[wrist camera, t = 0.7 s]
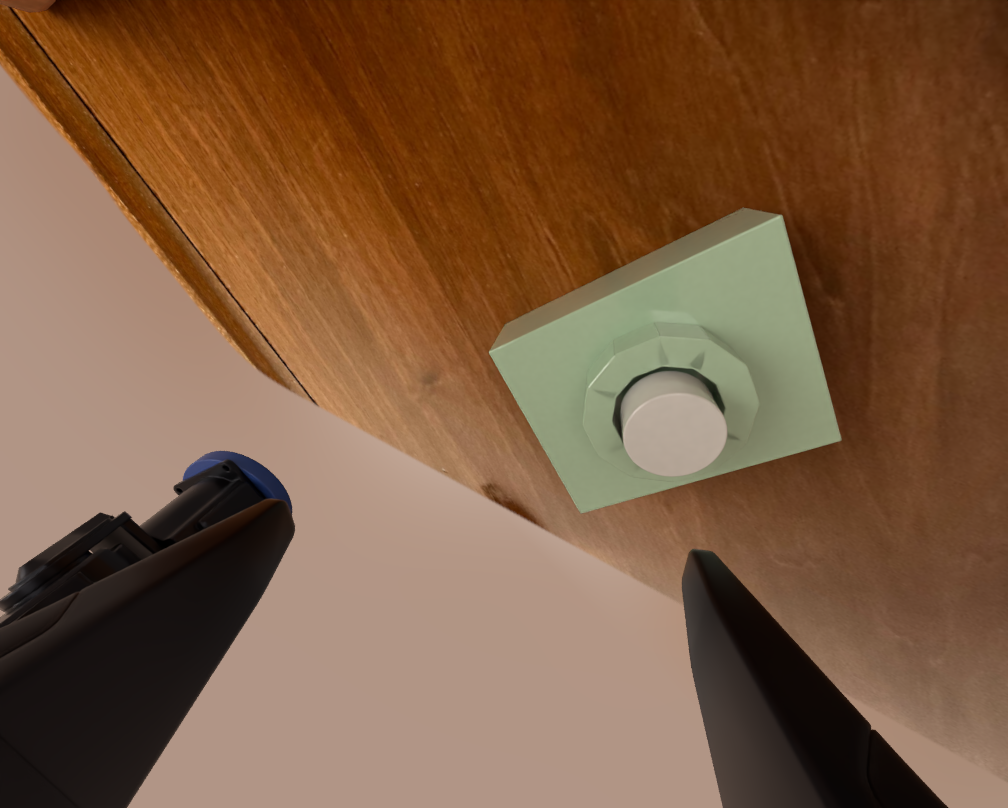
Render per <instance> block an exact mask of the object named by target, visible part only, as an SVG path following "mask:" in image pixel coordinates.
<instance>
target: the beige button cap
mask: <svg viewBox="0 0 1008 808" xmlns="http://www.w3.org/2000/svg"><path fill="white" fill-rule="evenodd" d="M620 420H621V428H622V436H623V443H624V447H625V450H626V452H627V454H628V455H629V457H630V458H631V459H632V461H633V462H634V463H635V464H636V465H638V466H639V467H641V468H642V469H644V470H646V471H648V472H650V473H653V474H656V475H660V476H669V477H676V476H684V475H688V474H692V473H695V472H697V471H699V470H702V469H703V468H705V467H707V466H708V465H709V464H711V463H712V462H713V461H714V460H715V459H716V458H717V457H718V456H719V455H720V453H721V452H722V450H723V448H724V446H725V443H726V440H727V432H728V430H727V423H726V420H725V418H724V416H723V414H722V412H721V410H720V408H719V407H718V405H717V403H716V401H715V399H714V398H713V396H712V394H711V392H710V391H709V389H708V388H707V386H706V385H705V384H704V383H703V382H702V381H700V380H699V379H698V378H696V377H694V376H692V375H690V374H687V373H683V372H678V371H662V372H657V373H653V374H650V375H648V376H646V377H644V378H642V379H640V380H639V381H637V382H636V383H635V384H634V385H633V386H632V387H631V388H630V389H629V390H628V391H627V393H626V394H625V396H624V398H623V400H622V403H621V407H620Z"/></svg>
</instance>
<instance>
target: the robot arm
mask: <svg viewBox="0 0 1008 808" xmlns="http://www.w3.org/2000/svg"><path fill="white" fill-rule="evenodd" d="M174 491H175V492H176V493H177V494H178V495H179V496H178V497H177V498H176V499H174V500H173V501H171V502H170V503H169V504H168V505H166V506H165V507H164V508H162V509H161V510H160V511H159V512H157V513H156V514H155V515H153V516H152V517H151V518H150V519H148V520H147V521H146V522H144V523H143V524H142V525H140V526H138V525H137V524H136V523H135V522H134V521H133V520H132V519H131V518H132V517H131V516H130V515H129V514H128V513H126V512H123V513H121V514H120V515H118V516H117V517H113V516H110V515H106V514H103V513H99V514H97V515H96V516H94V517H93V518H92V519H90V520H89V521H87V522H86V523H84V524H83V525H81V526H80V527H78V528H77V529H75V530H74V531H72V532H71V533H70V534H68V535H67V536H65V537H64V538H62V539H61V540H60V541H58V542H56V543H55V544H53V545H52V546H50V547H49V548H48V549H46V550H45V551H43V552H42V553H40V554H39V555H37V556H36V557H34V558H33V559H31V560H30V561H28V562H27V563H26V564H24V565H23V566H22V567H20V568H19V570H18V575H17V579H16V583H15V584H14V585H13V586H11V587H10V588H9V589H8V590H10V591H11V592H10V593H8V594H7V595H6V596H4V597H3V598H2V599H0V610H2V611H4V612H5V614H4V615H3V616H1V617H0V808H127V807H128V805H129V804H130V802H131V800H132V799H133V797H134V796H135V794H136V793H137V791H138V790H139V788H140V786H141V785H142V783H143V782H144V780H145V779H146V777H147V776H148V774H149V772H150V771H151V769H152V768H153V766H154V765H155V763H156V762H157V760H158V758H159V757H160V755H161V754H162V752H163V751H164V749H165V747H166V746H167V744H168V743H169V741H170V739H171V738H172V737H173V735H174V733H175V732H176V730H177V729H178V727H179V726H180V724H181V722H182V721H183V719H184V718H185V716H186V715H187V713H188V711H189V710H190V708H191V707H192V705H193V704H194V702H195V701H196V699H197V697H198V696H199V694H200V693H201V691H202V690H203V688H204V687H205V685H206V683H207V682H208V680H209V679H210V677H211V675H212V674H213V673H214V671H215V669H216V668H217V666H218V665H219V663H220V661H221V660H222V658H223V657H224V655H225V654H226V652H227V651H228V649H229V648H230V646H231V644H232V643H233V641H234V640H235V638H236V636H237V635H238V633H239V632H240V630H241V629H242V627H243V626H244V624H245V622H246V621H247V619H248V618H249V616H250V615H251V613H252V612H253V610H254V608H255V607H256V605H257V604H258V602H259V600H260V598H261V597H262V595H263V593H264V592H265V590H266V588H267V586H268V584H269V582H270V580H271V578H272V577H273V575H274V573H275V571H276V569H277V567H278V565H279V563H280V561H281V559H282V557H283V555H284V553H285V551H286V550H287V548H288V546H289V544H290V542H291V540H292V538H293V536H294V532H295V525H294V522H293V518H292V515H291V512H290V509H289V506H288V504H287V502H286V501H284V500H279V499H267V498H266V497H265V496H264V495H263V494H262V493H261V492H260V490H259V489H258V488H257V487H256V486H255V485H254V484H253V483H252V482H251V480H250V479H249V478H248V477H247V476H246V475H245V474H244V473H243V472H242V470H241V469H240V468H239V467H238V466H237V465H236V464H235V463H234V462H233V461H231V460H228V459H227V460H224V461H222V462H220V463H218V464H216V465H214V466H212V467H210V468H208V469H205V470H203V471H201V472H199V473H197V474H195V475H193V476H191V477H189V478H187V479H185V480H183V481H181V482H179V483H178V484H176V485H175V486H174ZM89 550H91V551H92V552H93V553H90V552H89ZM682 592H683V601H684V610H685V618H686V627H687V636H688V645H689V653H690V660H691V668H692V673H693V678H694V682H695V687H696V691H697V695H698V700H699V704H700V709H701V713H702V717H703V722H704V726H705V731H706V735H707V739H708V744H709V748H710V753H711V757H712V761H713V766H714V770H715V775H716V778H717V783H718V788H719V792H720V797H721V801H722V805H723V808H948V807H947V806H946V805H945V804H944V803H943V802H942V801H941V800H940V799H939V798H938V797H937V796H936V794H935V793H934V792H932V790H931V789H930V788H929V787H928V786H927V785H926V784H925V783H924V782H923V781H922V780H921V779H920V778H919V776H918V775H917V774H916V773H915V772H914V771H913V770H912V769H911V768H910V767H909V766H908V765H907V764H906V763H905V762H904V761H903V759H902V758H901V757H900V756H899V755H898V754H897V753H896V752H895V751H894V750H893V749H892V747H890V745H889V744H888V743H887V742H886V741H885V740H884V739H883V738H882V736H881V735H880V734H879V733H878V732H877V731H876V730H871V725H870V724H869V722H868V721H867V720H866V719H865V718H864V717H863V716H862V715H861V714H860V713H859V711H858V710H857V709H856V708H855V707H854V706H853V705H852V704H851V703H850V702H849V700H847V698H846V697H845V696H844V695H843V694H842V693H841V692H840V691H839V689H838V688H837V687H836V686H835V685H834V684H833V683H832V682H831V681H830V680H829V678H828V677H827V676H826V675H825V674H824V673H823V672H822V671H821V670H820V669H819V667H818V666H817V665H816V664H815V663H814V662H813V661H812V660H811V659H810V658H809V656H808V655H807V654H806V653H805V652H804V651H803V650H802V649H801V648H800V647H799V645H798V644H797V643H796V642H795V641H794V640H793V639H792V638H791V637H790V636H789V634H788V633H787V632H786V631H785V630H784V629H783V628H782V627H781V626H780V625H779V623H778V622H777V621H776V620H775V619H774V618H773V617H772V616H771V615H770V614H769V612H768V611H767V610H766V609H765V608H764V607H763V606H762V605H761V604H760V603H759V601H758V600H757V599H756V598H755V597H754V596H753V595H752V594H751V593H750V592H749V591H748V589H747V588H746V587H745V586H744V585H743V584H742V583H741V582H740V581H739V580H738V578H737V577H736V576H735V575H734V574H733V573H732V572H731V571H730V570H729V569H728V567H727V566H726V565H725V564H724V563H723V562H722V561H721V560H720V559H719V558H718V556H717V555H716V554H715V553H713V552H711V551H706V550H698V549H692V550H691V551H690V552H689V554H688V558H687V562H686V565H685V569H684V573H683V577H682Z"/></svg>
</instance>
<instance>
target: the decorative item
mask: <svg viewBox="0 0 1008 808" xmlns="http://www.w3.org/2000/svg"><path fill="white" fill-rule="evenodd" d="M55 1H56V0H0V4H3V5H6V6H9V7H13V8H16V9H20V10H23V11H26V12H40V11H45V10H47V9H48V8H49V7H50V6H51V5H52V4H53V3H54V2H55Z"/></svg>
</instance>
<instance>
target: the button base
mask: <svg viewBox="0 0 1008 808" xmlns="http://www.w3.org/2000/svg"><path fill="white" fill-rule="evenodd" d="M489 354H490V356H491V357H492V359H493V361H494V363H495V364H496V366H497V368H498V370H499V371H500V373H501V375H502V377H503V379H504V380H505V382H506V384H507V386H508V387H509V389H510V391H511V393H512V394H513V396H514V398H515V400H516V401H517V403H518V405H519V407H520V408H521V410H522V412H523V414H524V415H525V417H526V419H527V421H528V422H529V424H530V426H531V428H532V429H533V431H534V433H535V435H536V436H537V438H538V440H539V442H540V443H541V445H542V447H543V449H544V450H545V452H546V454H547V456H548V457H549V459H550V461H551V463H552V464H553V466H554V468H555V470H556V472H557V473H558V475H559V477H560V479H561V480H562V482H563V484H564V486H565V487H566V489H567V491H568V493H569V494H570V496H571V498H572V500H573V501H574V503H575V505H576V507H577V508H578V510H579V512H580V513H585V512H589V511H592V510H596V509H599V508H603V507H606V506H610V505H614V504H617V503H621V502H624V501H628V500H631V499H635V498H639V497H642V496H646V495H649V494H653V493H656V492H660V491H664V490H667V489H671V488H674V487H678V486H681V485H685V484H689V483H692V482H696V481H699V480H703V479H706V478H710V477H714V476H717V475H721V474H724V473H728V472H732V471H735V470H739V469H742V468H746V467H749V466H753V465H757V464H760V463H764V462H767V461H771V460H774V459H778V458H782V457H785V456H789V455H792V454H796V453H799V452H803V451H807V450H810V449H814V448H817V447H821V446H824V445H828V444H832V443H835V442H839V441H841V440H842V439H841V435H840V431H839V427H838V424H837V420H836V416H835V412H834V408H833V405H832V401H831V397H830V393H829V390H828V386H827V382H826V378H825V374H824V371H823V367H822V363H821V359H820V355H819V352H818V348H817V344H816V340H815V337H814V333H813V329H812V325H811V321H810V318H809V314H808V310H807V306H806V302H805V299H804V295H803V291H802V287H801V283H800V280H799V276H798V272H797V268H796V265H795V261H794V257H793V253H792V249H791V246H790V242H789V238H788V234H787V230H786V227H785V223H784V219H783V216H782V215H780V214H775V213H770V212H765V211H759V210H754V209H749V208H742V209H740V210H738V211H736V212H734V213H732V214H730V215H727V216H725V217H723V218H721V219H719V220H717V221H715V222H713V223H711V224H709V225H707V226H705V227H703V228H701V229H699V230H697V231H695V232H693V233H691V234H689V235H687V236H684V237H682V238H680V239H678V240H676V241H674V242H672V243H670V244H668V245H666V246H664V247H662V248H660V249H658V250H656V251H654V252H652V253H650V254H648V255H646V256H644V257H641V258H639V259H637V260H635V261H633V262H631V263H629V264H627V265H625V266H623V267H621V268H619V269H617V270H615V271H613V272H611V273H609V274H607V275H605V276H603V277H601V278H598V279H596V280H594V281H592V282H590V283H588V284H586V285H584V286H582V287H580V288H578V289H576V290H574V291H572V292H570V293H568V294H566V295H564V296H562V297H560V298H558V299H555V300H553V301H551V302H549V303H547V304H545V305H543V306H541V307H539V308H537V309H535V310H533V311H531V312H529V313H527V314H525V315H523V316H521V317H519V318H517V319H515V320H512V321H510V322H508V323H506V324H505V325H504V327H503V328H502V330H501V332H500V334H499V335H498V337H497V339H496V340H495V342H494V344H493V346H492V347H491V349H490V351H489ZM662 371H678V372H683V373H687V374H690V375H692V376H694V377H696V378H698V379H699V380H700V381H702V382H703V383H704V384H705V385H706V386H707V388H708V389H709V391H710V392H711V394H712V396H713V398H714V399H715V401H716V403H717V405H718V407H719V408H720V410H721V412H722V414H723V416H724V418H725V420H726V423H727V430H728V432H727V440H726V443H725V446H724V448H723V450H722V452H721V453H720V455H719V456H718V457H717V458H716V459H715V460H714V461H713V462H712V463H711V464H709V465H708V466H707V467H705V468H703V469H702V470H699V471H697V472H695V473H692V474H688V475H684V476H676V477H669V476H660V475H656V474H653V473H650V472H648V471H646V470H644V469H642V468H641V467H639V466H638V465H636V464H635V463H634V462H633V461H632V459H631V458H630V457H629V455H628V454H627V452H626V450H625V447H624V443H623V436H622V428H621V420H620V407H621V403H622V400H623V398H624V396H625V394H626V393H627V391H628V390H629V389H630V388H631V387H632V386H633V385H634V384H635V383H636V382H637V381H639V380H640V379H642V378H644V377H646V376H648V375H650V374H653V373H657V372H662Z"/></svg>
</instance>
